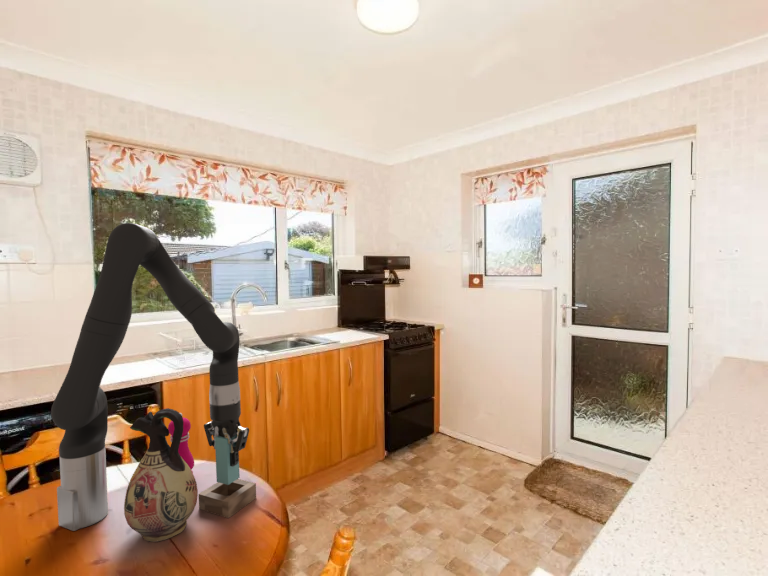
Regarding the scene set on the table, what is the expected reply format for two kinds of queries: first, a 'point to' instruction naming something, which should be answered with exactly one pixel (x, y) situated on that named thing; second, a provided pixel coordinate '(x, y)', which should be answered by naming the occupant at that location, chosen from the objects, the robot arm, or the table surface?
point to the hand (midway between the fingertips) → (227, 463)
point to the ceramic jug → (160, 482)
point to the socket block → (223, 505)
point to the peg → (225, 462)
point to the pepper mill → (183, 442)
